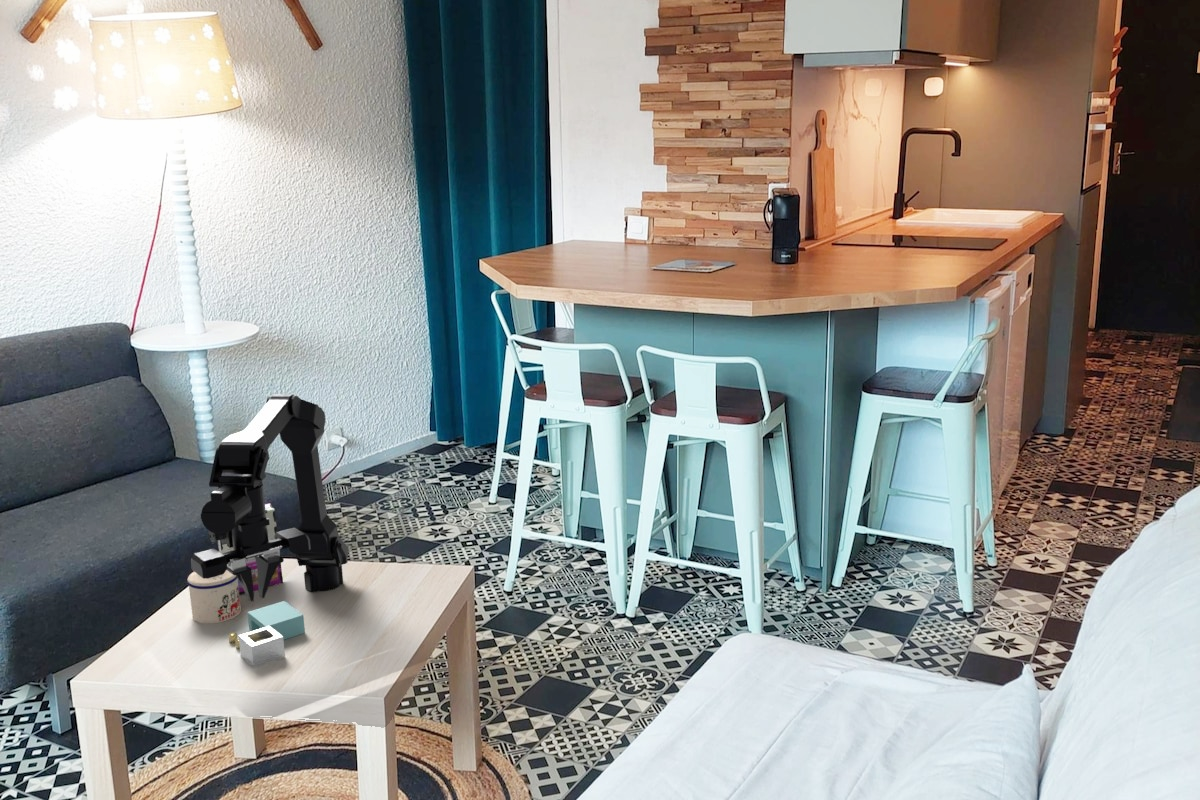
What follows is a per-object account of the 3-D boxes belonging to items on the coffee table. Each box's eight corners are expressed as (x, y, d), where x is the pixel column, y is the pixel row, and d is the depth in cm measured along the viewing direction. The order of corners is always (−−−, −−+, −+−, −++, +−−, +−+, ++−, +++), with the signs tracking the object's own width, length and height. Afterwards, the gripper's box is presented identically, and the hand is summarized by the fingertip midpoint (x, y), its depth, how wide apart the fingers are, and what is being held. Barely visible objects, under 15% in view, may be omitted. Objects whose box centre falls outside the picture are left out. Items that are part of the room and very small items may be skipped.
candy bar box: (278, 577, 225) (271, 501, 221) (283, 586, 221) (276, 509, 217) (222, 588, 220) (213, 511, 216) (226, 597, 216) (217, 519, 212)
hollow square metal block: (271, 646, 193) (269, 625, 192) (285, 657, 188) (283, 636, 187) (240, 656, 189) (238, 635, 188) (253, 668, 185) (251, 646, 184)
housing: (285, 618, 203) (284, 600, 202) (304, 632, 197) (303, 614, 196) (249, 629, 199) (247, 612, 198) (267, 644, 193) (266, 626, 192)
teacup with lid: (226, 632, 201) (219, 573, 198) (182, 628, 203) (174, 569, 200) (259, 604, 212) (253, 548, 210) (217, 601, 214) (210, 545, 212)
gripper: (279, 488, 194) (287, 570, 198) (173, 513, 182) (184, 600, 186) (308, 504, 186) (315, 589, 190) (198, 531, 174) (209, 621, 178)
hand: (256, 599), depth 186 cm, fingers closed
